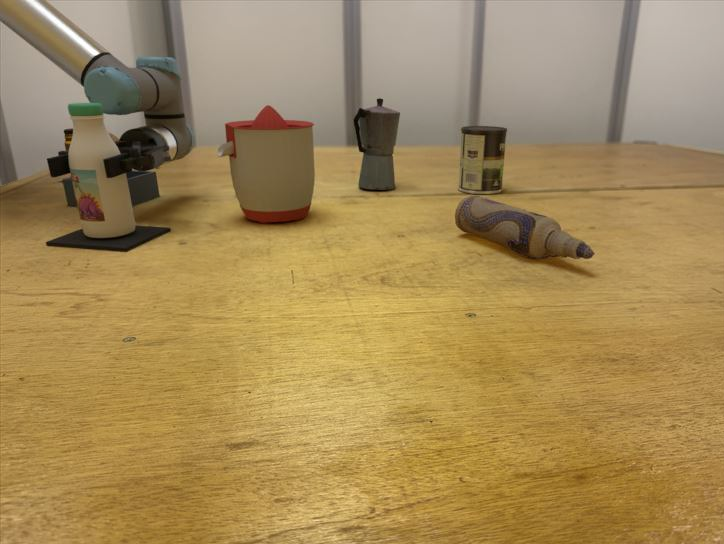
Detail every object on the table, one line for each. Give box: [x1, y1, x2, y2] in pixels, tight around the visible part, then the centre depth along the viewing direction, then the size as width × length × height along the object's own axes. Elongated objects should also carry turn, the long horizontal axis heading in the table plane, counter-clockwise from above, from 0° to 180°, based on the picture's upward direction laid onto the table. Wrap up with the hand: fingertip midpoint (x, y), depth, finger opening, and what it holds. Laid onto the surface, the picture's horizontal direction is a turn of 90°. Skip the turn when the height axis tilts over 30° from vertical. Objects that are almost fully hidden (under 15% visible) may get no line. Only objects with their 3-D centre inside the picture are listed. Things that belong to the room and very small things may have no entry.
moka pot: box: [353, 97, 401, 191], centre depth 126 cm, size 10×15×20 cm, turn 149°
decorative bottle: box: [454, 194, 596, 260], centre depth 85 cm, size 26×8×7 cm, turn 33°
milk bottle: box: [67, 102, 136, 238], centre depth 86 cm, size 8×8×20 cm
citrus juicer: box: [216, 104, 316, 224], centre depth 100 cm, size 16×17×20 cm
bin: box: [61, 170, 161, 207], centre depth 114 cm, size 12×12×5 cm
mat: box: [45, 224, 172, 253], centre depth 90 cm, size 14×12×1 cm
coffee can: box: [457, 125, 508, 195], centre depth 127 cm, size 10×10×14 cm
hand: (79, 168), depth 81 cm, fingers closed on milk bottle, 8 cm apart
